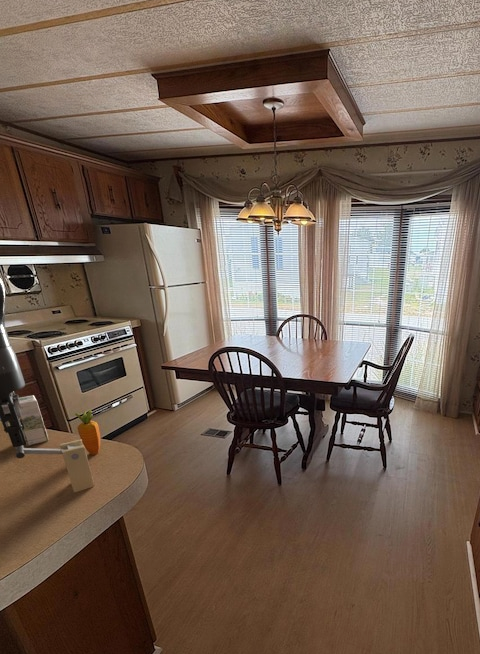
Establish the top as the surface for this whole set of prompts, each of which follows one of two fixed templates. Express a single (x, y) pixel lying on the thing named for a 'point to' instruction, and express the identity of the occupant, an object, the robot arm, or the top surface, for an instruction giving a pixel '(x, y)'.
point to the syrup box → (32, 421)
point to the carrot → (89, 433)
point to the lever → (38, 451)
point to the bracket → (77, 465)
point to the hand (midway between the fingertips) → (19, 437)
